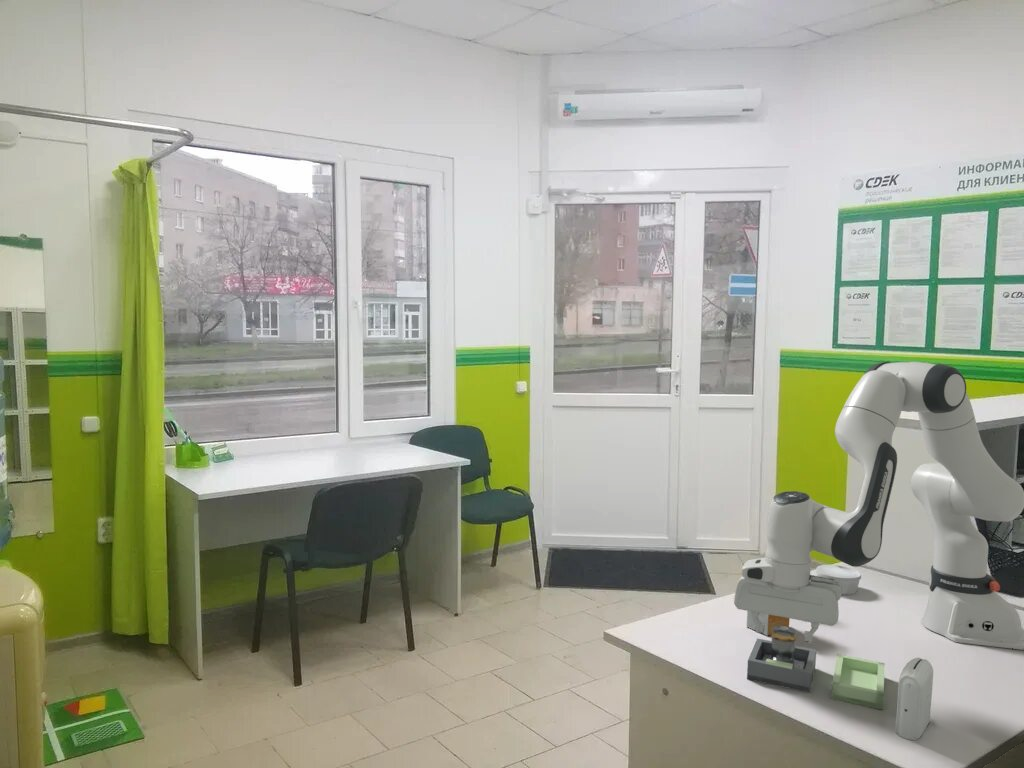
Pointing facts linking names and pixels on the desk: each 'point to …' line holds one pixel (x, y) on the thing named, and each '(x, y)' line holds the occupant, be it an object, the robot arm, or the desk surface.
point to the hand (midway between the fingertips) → (783, 636)
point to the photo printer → (914, 698)
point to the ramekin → (841, 577)
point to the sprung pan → (796, 662)
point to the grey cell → (783, 644)
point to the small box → (767, 622)
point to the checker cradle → (781, 667)
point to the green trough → (858, 681)
